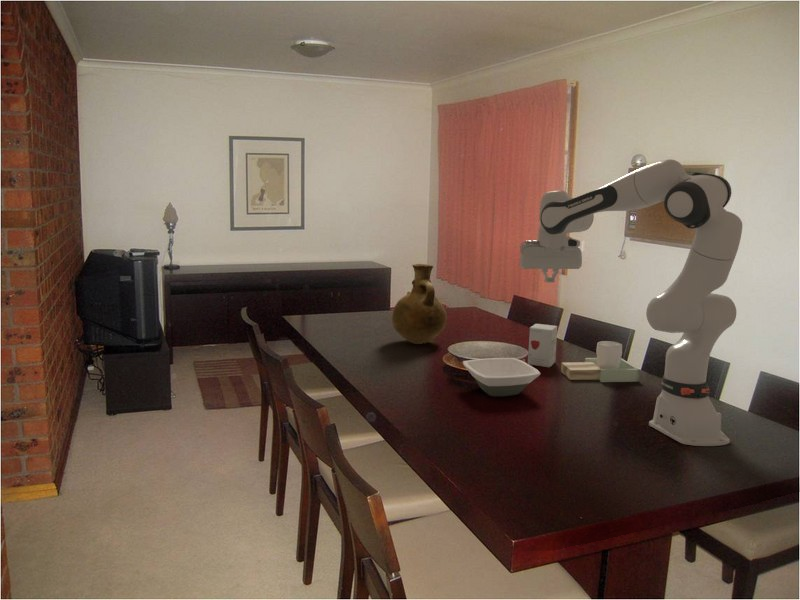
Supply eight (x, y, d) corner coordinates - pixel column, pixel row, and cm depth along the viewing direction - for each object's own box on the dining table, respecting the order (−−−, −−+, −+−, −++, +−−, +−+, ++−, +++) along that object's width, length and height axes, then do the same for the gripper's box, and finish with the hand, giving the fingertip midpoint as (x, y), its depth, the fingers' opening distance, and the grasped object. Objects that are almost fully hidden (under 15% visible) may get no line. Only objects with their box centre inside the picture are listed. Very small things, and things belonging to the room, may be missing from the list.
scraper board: (602, 380, 228) (602, 369, 227) (569, 380, 227) (570, 370, 226) (591, 372, 238) (592, 362, 237) (560, 372, 237) (561, 362, 236)
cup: (620, 379, 228) (623, 347, 225) (594, 377, 230) (597, 345, 228) (619, 373, 236) (622, 342, 234) (594, 370, 239) (596, 340, 236)
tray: (638, 381, 226) (639, 369, 225) (600, 382, 225) (601, 369, 224) (619, 369, 241) (620, 357, 241) (584, 369, 240) (585, 358, 239)
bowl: (482, 404, 200) (483, 379, 198) (457, 383, 221) (457, 360, 220) (545, 399, 206) (546, 374, 204) (514, 379, 227) (515, 356, 226)
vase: (455, 347, 271) (457, 266, 265) (403, 352, 262) (404, 268, 256) (432, 335, 293) (433, 260, 287) (383, 339, 284) (384, 262, 278)
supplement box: (526, 364, 246) (528, 327, 244) (533, 359, 254) (535, 323, 251) (550, 367, 242) (552, 329, 239) (555, 362, 250) (557, 325, 247)
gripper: (523, 241, 203) (521, 283, 205) (585, 241, 205) (582, 283, 207) (518, 239, 209) (516, 280, 212) (578, 240, 211) (575, 280, 213)
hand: (549, 282), depth 209 cm, fingers closed
